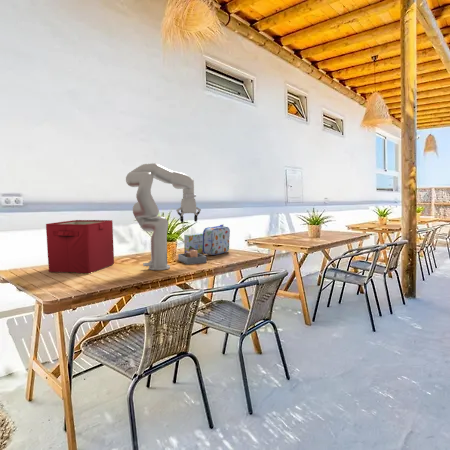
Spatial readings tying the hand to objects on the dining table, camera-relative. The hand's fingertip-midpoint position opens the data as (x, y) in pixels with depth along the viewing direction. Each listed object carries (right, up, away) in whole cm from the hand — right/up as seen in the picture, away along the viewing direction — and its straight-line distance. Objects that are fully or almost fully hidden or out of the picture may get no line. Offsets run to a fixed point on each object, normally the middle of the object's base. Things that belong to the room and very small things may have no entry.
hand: (188, 221), depth 227 cm
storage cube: (-62, -29, -22) cm, 72 cm away
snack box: (+2, -24, +31) cm, 39 cm away
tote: (+2, -27, -2) cm, 27 cm away
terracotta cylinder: (+4, -26, -5) cm, 27 cm away
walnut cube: (+1, -26, +1) cm, 26 cm away
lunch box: (+18, -24, +28) cm, 41 cm away
